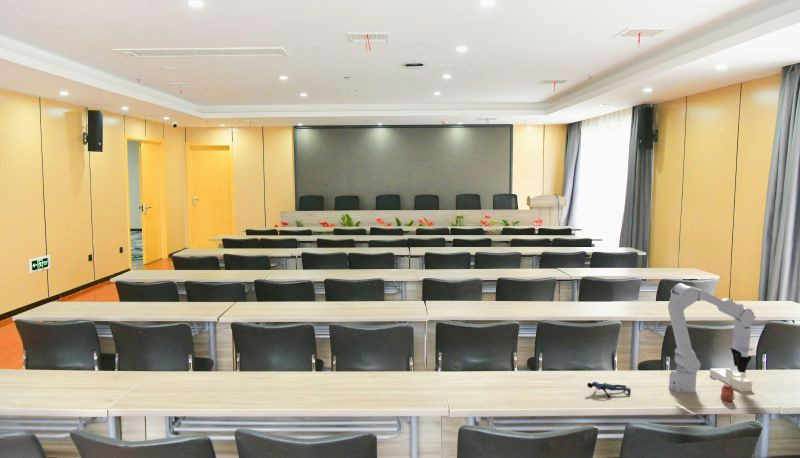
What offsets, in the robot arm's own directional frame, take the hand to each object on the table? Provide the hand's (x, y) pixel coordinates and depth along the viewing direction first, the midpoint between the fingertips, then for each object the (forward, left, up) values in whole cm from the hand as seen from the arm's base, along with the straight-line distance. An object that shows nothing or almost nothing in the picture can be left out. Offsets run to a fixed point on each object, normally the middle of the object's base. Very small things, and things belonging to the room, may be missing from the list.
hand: (739, 368), depth 226 cm
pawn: (-13, -9, -9) cm, 18 cm away
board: (-10, -5, -10) cm, 15 cm away
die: (+2, +1, -10) cm, 10 cm away
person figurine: (-53, +9, -10) cm, 55 cm away
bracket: (+5, +11, -10) cm, 16 cm away
